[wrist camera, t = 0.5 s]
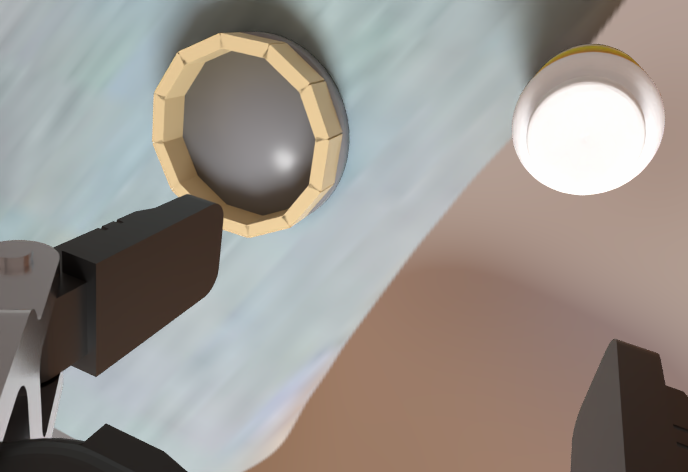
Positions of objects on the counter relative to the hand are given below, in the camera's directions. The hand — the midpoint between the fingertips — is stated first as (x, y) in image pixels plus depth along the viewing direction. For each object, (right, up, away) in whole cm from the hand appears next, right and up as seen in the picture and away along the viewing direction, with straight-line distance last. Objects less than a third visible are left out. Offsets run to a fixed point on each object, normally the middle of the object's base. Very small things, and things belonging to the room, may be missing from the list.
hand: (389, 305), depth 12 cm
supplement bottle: (+11, +8, +18) cm, 23 cm away
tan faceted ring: (-6, +8, +25) cm, 27 cm away
